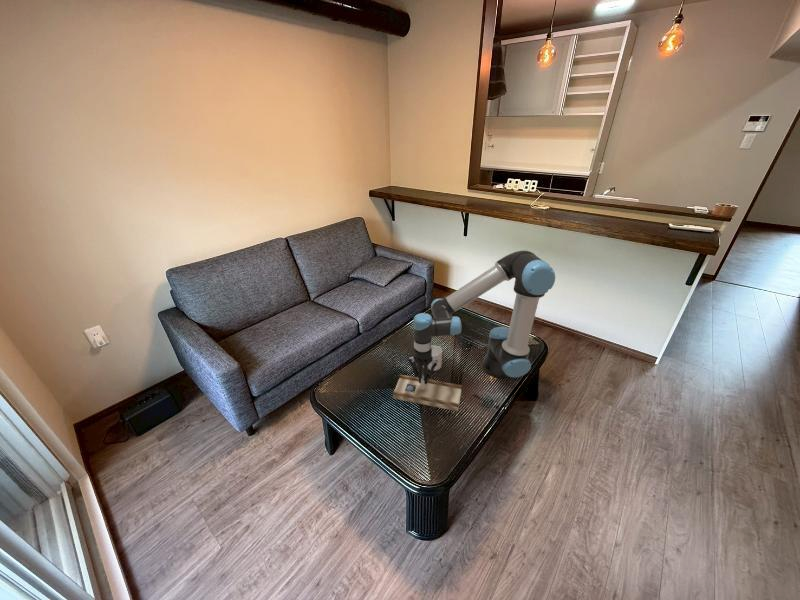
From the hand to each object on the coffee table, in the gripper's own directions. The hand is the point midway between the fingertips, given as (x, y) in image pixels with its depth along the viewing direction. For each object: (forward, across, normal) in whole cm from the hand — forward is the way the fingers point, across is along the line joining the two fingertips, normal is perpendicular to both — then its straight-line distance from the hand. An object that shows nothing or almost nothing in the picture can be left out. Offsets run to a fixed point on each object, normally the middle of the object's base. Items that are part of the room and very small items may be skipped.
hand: (423, 387), depth 140 cm
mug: (+4, 0, -19) cm, 19 cm away
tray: (+4, -2, 0) cm, 4 cm away
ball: (+2, +6, 0) cm, 7 cm away
